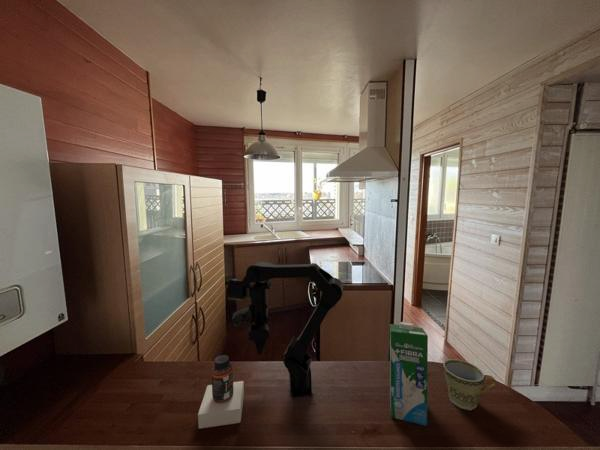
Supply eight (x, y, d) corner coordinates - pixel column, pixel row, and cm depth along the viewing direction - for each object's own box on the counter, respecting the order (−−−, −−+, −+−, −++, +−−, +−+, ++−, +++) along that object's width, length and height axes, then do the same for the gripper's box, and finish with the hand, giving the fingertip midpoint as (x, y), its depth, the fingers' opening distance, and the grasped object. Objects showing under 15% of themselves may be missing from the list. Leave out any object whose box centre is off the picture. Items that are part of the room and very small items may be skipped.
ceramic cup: (446, 410, 69) (447, 376, 68) (440, 385, 78) (440, 356, 78) (502, 423, 64) (503, 387, 64) (488, 395, 74) (489, 364, 73)
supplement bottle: (233, 401, 69) (231, 363, 68) (211, 406, 67) (209, 367, 67) (234, 387, 74) (232, 351, 74) (213, 390, 73) (212, 354, 72)
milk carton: (422, 400, 72) (422, 320, 71) (427, 426, 64) (427, 335, 62) (390, 393, 75) (389, 316, 74) (390, 417, 67) (390, 330, 65)
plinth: (243, 392, 77) (243, 380, 77) (240, 422, 66) (239, 408, 66) (208, 397, 76) (207, 385, 75) (198, 428, 65) (197, 414, 65)
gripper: (236, 292, 88) (238, 334, 89) (229, 314, 69) (231, 366, 70) (267, 290, 89) (268, 331, 90) (268, 311, 71) (269, 362, 72)
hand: (260, 346), depth 81 cm, fingers open, 9 cm apart
